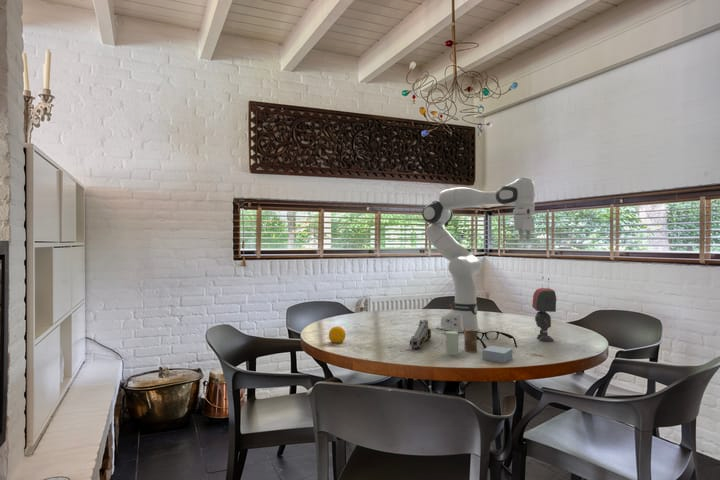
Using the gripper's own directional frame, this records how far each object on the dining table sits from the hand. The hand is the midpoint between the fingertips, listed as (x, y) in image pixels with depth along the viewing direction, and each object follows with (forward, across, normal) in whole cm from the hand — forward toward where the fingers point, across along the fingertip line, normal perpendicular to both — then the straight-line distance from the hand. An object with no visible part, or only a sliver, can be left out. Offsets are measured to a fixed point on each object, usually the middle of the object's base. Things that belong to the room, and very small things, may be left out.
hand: (524, 239), depth 221 cm
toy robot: (+48, -1, +9) cm, 49 cm away
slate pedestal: (+48, +45, +3) cm, 66 cm away
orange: (+49, +62, -67) cm, 104 cm away
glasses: (+49, +21, -8) cm, 54 cm away
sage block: (+48, +49, -15) cm, 71 cm away
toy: (+49, +42, -34) cm, 73 cm away
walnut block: (+48, +39, -11) cm, 63 cm away
